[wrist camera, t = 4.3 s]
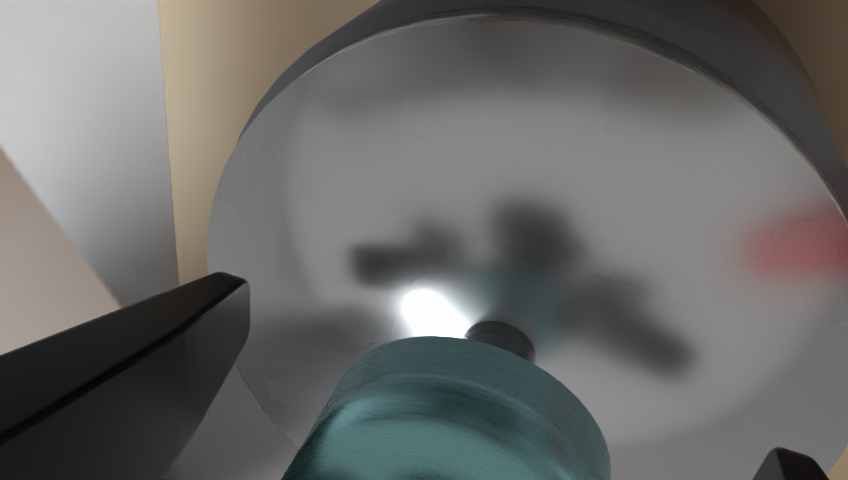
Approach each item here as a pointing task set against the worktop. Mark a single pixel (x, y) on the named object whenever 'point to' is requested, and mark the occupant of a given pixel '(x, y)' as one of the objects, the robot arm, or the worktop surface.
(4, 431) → the robot arm
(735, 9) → the grey cylinder
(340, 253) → the pot lid
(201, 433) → the worktop surface
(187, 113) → the oak board
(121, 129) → the worktop surface
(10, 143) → the worktop surface
